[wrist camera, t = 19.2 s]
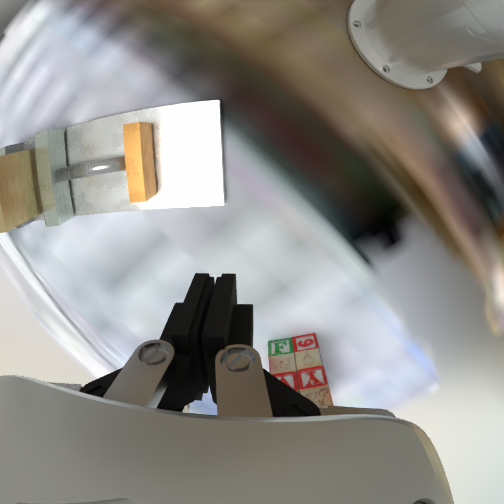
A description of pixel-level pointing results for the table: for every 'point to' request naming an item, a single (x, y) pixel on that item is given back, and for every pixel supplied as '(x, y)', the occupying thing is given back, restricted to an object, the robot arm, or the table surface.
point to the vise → (165, 159)
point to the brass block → (18, 189)
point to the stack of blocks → (300, 367)
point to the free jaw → (92, 169)
